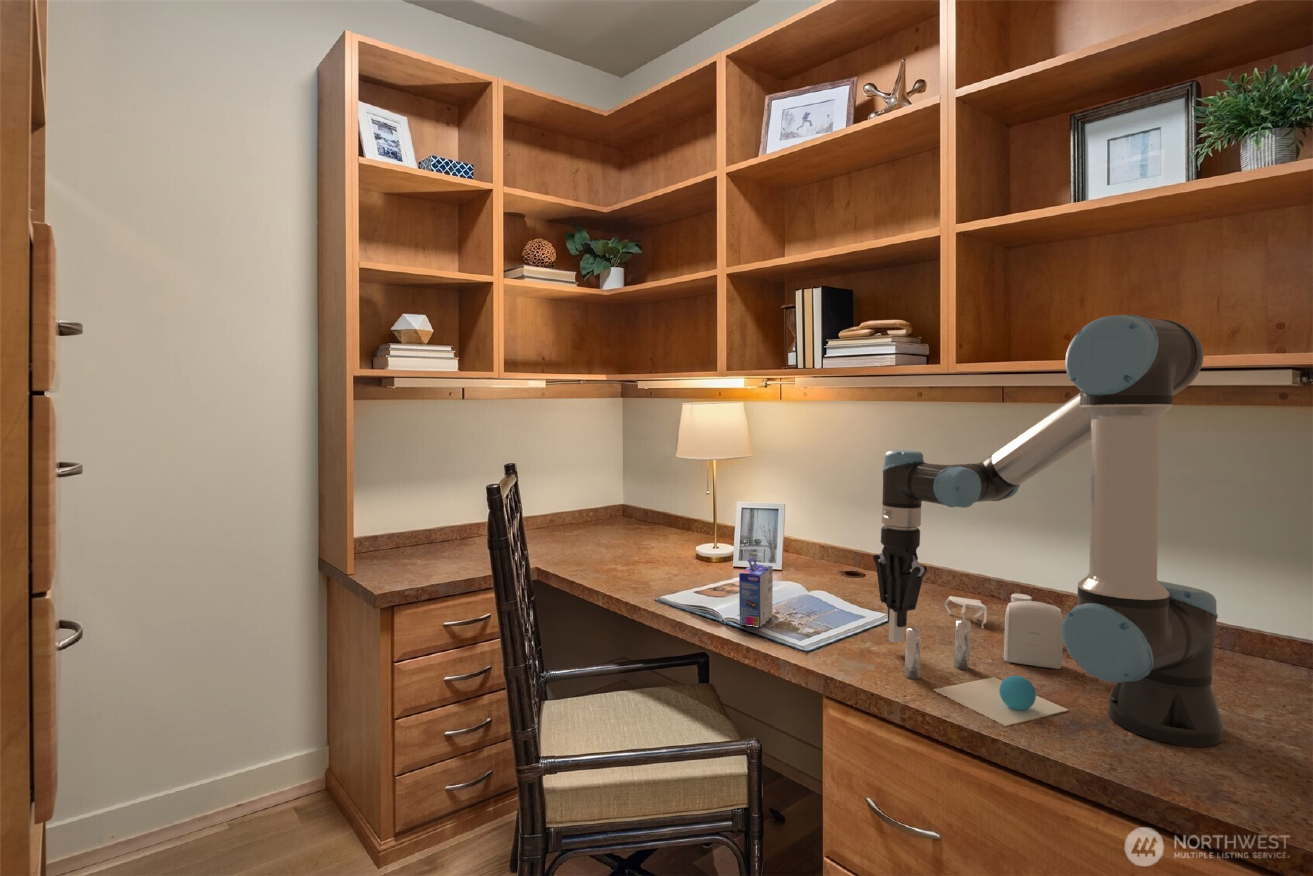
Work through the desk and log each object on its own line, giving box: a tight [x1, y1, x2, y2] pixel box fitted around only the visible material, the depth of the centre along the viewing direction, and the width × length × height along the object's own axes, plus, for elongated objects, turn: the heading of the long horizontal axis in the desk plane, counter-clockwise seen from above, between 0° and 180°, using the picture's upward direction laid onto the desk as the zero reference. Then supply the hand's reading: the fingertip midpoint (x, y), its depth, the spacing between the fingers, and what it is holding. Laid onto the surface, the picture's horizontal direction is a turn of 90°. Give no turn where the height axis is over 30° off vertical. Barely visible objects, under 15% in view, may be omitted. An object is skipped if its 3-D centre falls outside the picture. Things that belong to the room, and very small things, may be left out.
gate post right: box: [953, 618, 971, 670], centre depth 140 cm, size 3×3×9 cm
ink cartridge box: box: [738, 556, 774, 628], centre depth 166 cm, size 10×6×14 cm, turn 155°
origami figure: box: [943, 595, 988, 629], centre depth 169 cm, size 12×8×5 cm
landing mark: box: [933, 676, 1070, 727], centre depth 125 cm, size 15×15×1 cm
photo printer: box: [1003, 601, 1065, 670], centre depth 142 cm, size 10×4×12 cm, turn 66°
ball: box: [999, 675, 1037, 710], centre depth 121 cm, size 6×6×6 cm
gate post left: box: [904, 626, 922, 680], centre depth 135 cm, size 3×3×9 cm
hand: (896, 640), depth 147 cm, fingers closed
